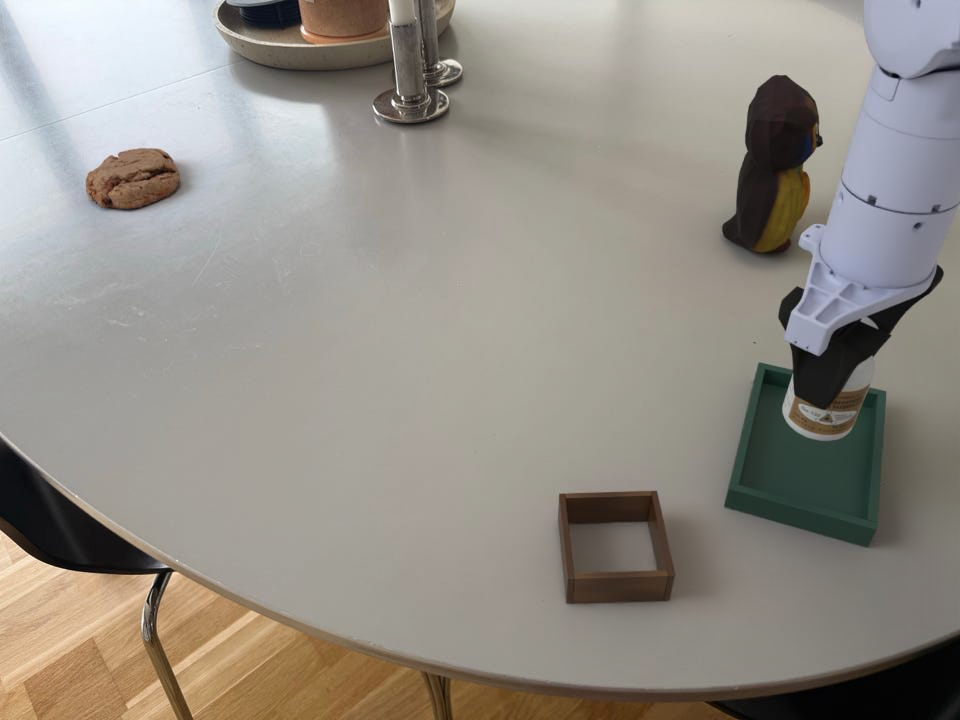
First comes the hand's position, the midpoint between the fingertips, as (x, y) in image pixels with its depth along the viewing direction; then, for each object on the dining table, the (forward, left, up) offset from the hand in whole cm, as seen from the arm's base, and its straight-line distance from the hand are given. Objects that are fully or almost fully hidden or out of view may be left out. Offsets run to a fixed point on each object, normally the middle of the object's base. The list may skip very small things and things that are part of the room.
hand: (831, 378), depth 50 cm
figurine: (+18, -23, -10) cm, 31 cm away
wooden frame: (+5, +14, -10) cm, 18 cm away
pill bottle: (0, 0, -4) cm, 4 cm away
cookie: (+72, +15, -10) cm, 74 cm away
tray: (+1, -2, -10) cm, 10 cm away
